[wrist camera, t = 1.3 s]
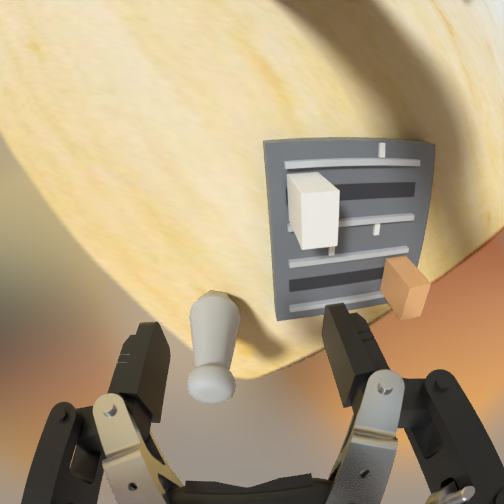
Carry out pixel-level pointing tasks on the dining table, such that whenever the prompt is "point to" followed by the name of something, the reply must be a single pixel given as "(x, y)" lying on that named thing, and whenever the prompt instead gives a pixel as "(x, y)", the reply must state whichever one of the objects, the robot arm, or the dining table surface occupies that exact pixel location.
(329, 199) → the fader
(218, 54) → the dining table surface
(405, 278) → the block
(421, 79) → the dining table surface
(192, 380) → the salt shaker
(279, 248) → the console
